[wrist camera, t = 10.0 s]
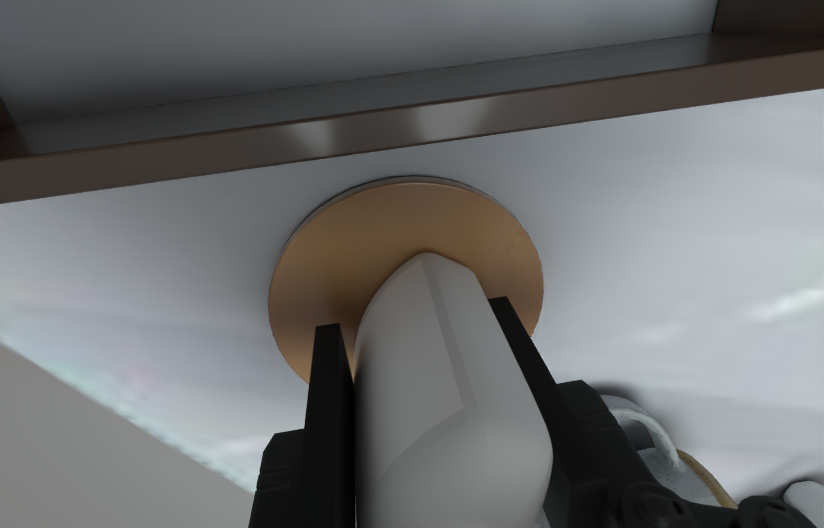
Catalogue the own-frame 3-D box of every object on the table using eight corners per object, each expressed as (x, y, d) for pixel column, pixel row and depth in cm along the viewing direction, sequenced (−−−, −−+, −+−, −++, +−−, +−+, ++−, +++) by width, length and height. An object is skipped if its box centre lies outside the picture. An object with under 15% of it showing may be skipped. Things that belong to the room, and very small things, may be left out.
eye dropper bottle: (310, 315, 16) (232, 917, 5) (447, 230, 15) (688, 762, 4) (381, 386, 18) (426, 920, 7) (504, 316, 17) (761, 816, 6)
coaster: (233, 199, 14) (229, 206, 13) (543, 155, 14) (551, 160, 14) (305, 419, 19) (304, 430, 18) (534, 380, 19) (539, 390, 19)
